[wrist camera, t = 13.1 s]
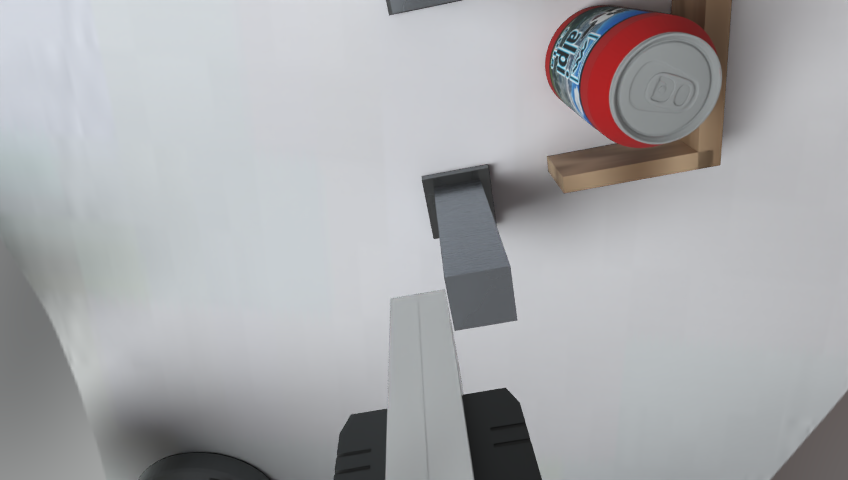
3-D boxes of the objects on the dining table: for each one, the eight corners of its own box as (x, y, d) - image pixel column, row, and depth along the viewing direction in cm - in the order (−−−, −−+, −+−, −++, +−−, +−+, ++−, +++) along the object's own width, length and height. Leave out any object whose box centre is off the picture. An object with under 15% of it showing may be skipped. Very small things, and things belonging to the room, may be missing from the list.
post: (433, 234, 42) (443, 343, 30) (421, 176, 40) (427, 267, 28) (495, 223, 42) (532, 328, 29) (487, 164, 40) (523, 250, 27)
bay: (548, 171, 40) (563, 193, 36) (530, -40, 34) (547, -42, 30) (688, 145, 39) (720, 165, 35) (697, -75, 33) (737, -82, 29)
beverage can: (563, -9, 35) (632, -2, 24) (656, 20, 36) (764, 38, 25) (528, 93, 37) (576, 140, 27) (615, 117, 38) (696, 171, 28)
